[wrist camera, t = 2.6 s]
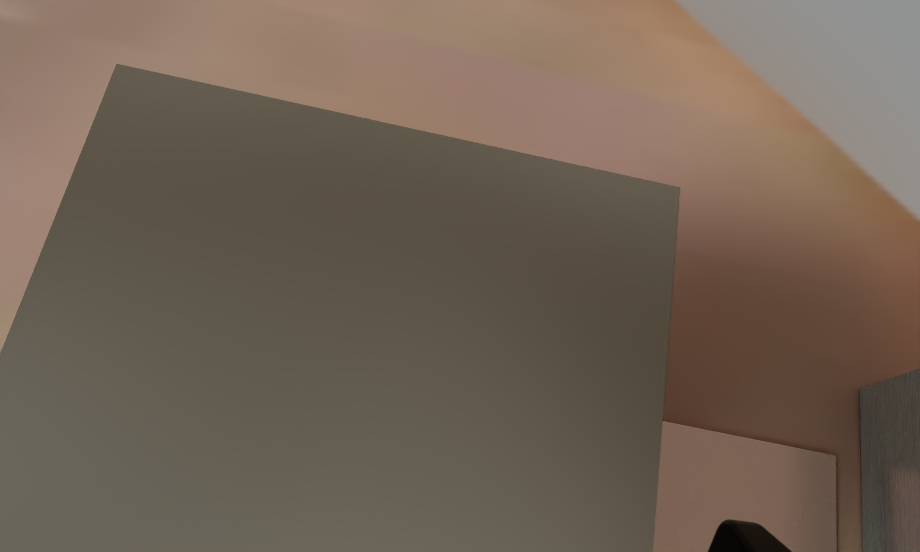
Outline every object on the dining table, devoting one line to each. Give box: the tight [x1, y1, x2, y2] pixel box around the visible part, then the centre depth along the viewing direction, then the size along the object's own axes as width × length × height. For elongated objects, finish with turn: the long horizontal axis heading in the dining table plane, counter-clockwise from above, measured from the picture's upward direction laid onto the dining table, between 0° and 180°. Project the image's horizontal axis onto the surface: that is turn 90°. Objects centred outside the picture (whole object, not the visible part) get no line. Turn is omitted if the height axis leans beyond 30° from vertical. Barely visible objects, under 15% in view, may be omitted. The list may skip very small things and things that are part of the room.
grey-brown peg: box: [0, 64, 680, 552], centre depth 11 cm, size 5×5×12 cm
